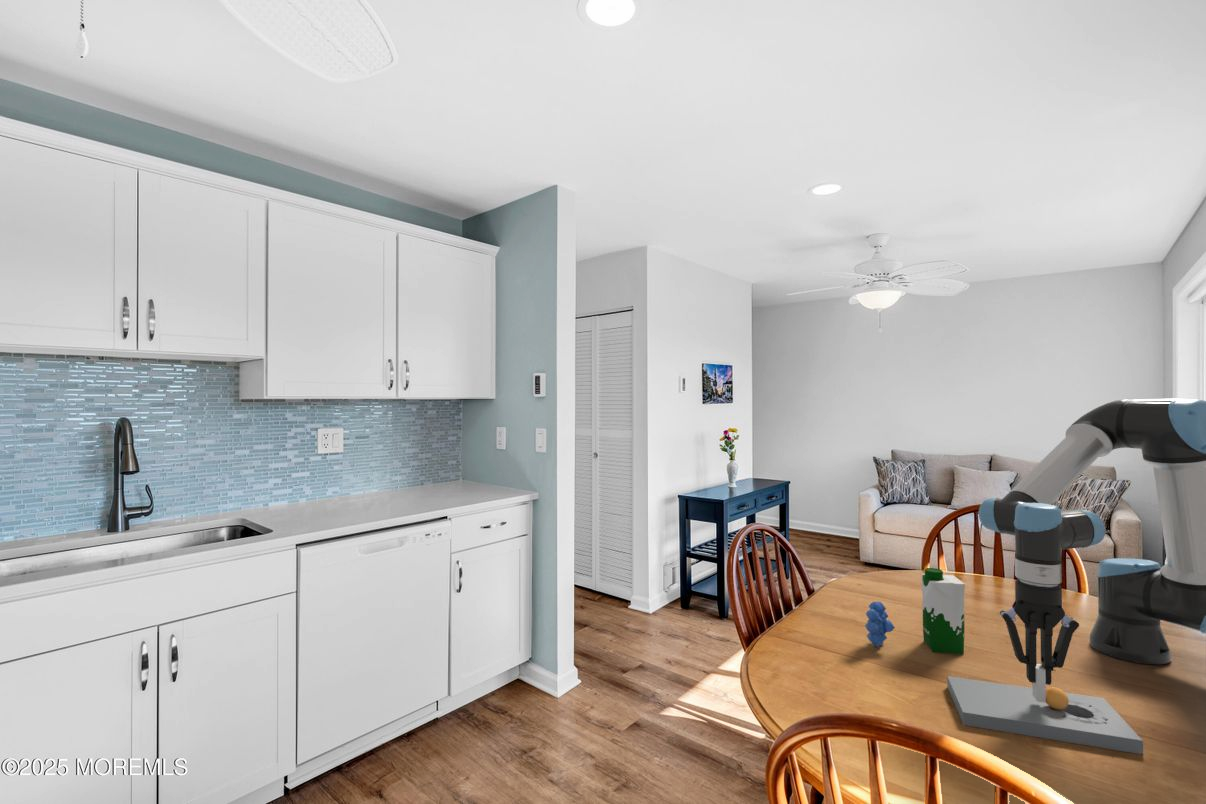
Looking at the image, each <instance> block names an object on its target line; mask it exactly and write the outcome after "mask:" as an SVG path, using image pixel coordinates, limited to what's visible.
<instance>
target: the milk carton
mask: <svg viewBox="0 0 1206 804" xmlns="http://www.w3.org/2000/svg"><path fill="white" fill-rule="evenodd" d="M943 572H944V571H943V570H942V569H939V568H933V567H927V568H924V573H921V575H920V576H921V577H920V578H921V588H922V589H921V591H922V592H921V593H922V634H923V635H922V637H923V642H924V643H925V645H926V646H927V648H929V649H930V651H931V652H932V653H937V654H952V655H963V656H964V654H965V590H966V589H965V588H966V583H965V582H963V581H961V580H960V579H959V578H957V576H955V575H953V574H951V575H950V574H944V573H943Z"/></svg>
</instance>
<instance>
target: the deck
mask: <svg viewBox="0 0 1206 804" xmlns="http://www.w3.org/2000/svg"><path fill="white" fill-rule="evenodd" d="M946 678H947V679H946V680H947V685H946V686H947V690H948V693H949V694H950V697H951V700H952V701H953V704H954V706H955V708H956V710H957V711H956V712H957V714H958V716H959V718H960V720H961V723H962V725H963V726H969V727H973V728H974V727H975V728H980V729H985V730H986V729H987V730H992V731H998V732H1004V733H1009V734H1010V733H1011V734H1017V735H1023V736H1028V737H1035V738H1041V739H1048V740H1054V741H1058V742H1059V741H1060V742H1064V743H1072V744H1078V745H1083V746H1090V747H1095V748H1102V749H1108V750H1114V751H1120V752H1125V753H1132V754H1138V755H1144V740H1143V739H1142V738H1141V737H1140V736H1139V735H1138V733H1137V732H1136V731H1135V730H1134V729H1133V728H1132V727H1131V726H1130V725H1129V723H1127V721H1125V720H1124V718H1122V716H1121V715H1120V714H1119V713H1118V712H1117V711H1116V710H1115V709H1114V708H1113V706H1112V705H1110V703H1109V702H1108V701H1107V700H1106V699H1105V698H1104V697H1099V696H1091V695H1085V694H1078V693H1072V692H1071V693H1070V692H1065V694H1066V695H1067V697H1068V700H1069V703H1068V706H1067V707H1066V708H1064V709H1060V710H1059V709H1054V708H1052V707H1050V706H1049V705H1048V704H1047V703H1045V702H1038V701H1036V699H1035V698H1034V696H1033V695H1032V687H1029V686H1022V685H1014V684H1006V683H1000V682H992V681H986V680H985V681H984V680H977V679H970V678H964V677H958V676H950V675H947V677H946Z"/></svg>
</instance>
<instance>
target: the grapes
mask: <svg viewBox="0 0 1206 804" xmlns="http://www.w3.org/2000/svg"><path fill="white" fill-rule="evenodd" d="M868 608H869V610H868V611H866V613H865V615H866V618H868V620H867V622H866V623H865V625H864V626H865V629H866V630H867V632H868V634H867V633H866V637H867V640H869V642H870V643H871V644H872V645H873V647H876V648H879V647H880V646H882V645H883V644H884V641H886V640H887V638H888V637H887V635H886V633H891V632H893V630H895V628H896V627H895V625H894V624H893V623H892V621H890V620H889V619H888V618H889V615H888V613H887V612H886V609H887V608H886V606H885V605H884V603H882V602H881V601H872V602H871V603H870V604H869V605H868Z"/></svg>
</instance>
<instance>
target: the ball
mask: <svg viewBox="0 0 1206 804" xmlns="http://www.w3.org/2000/svg"><path fill="white" fill-rule="evenodd" d="M1065 693H1066V692H1065V691H1063V690H1062V689H1060V688H1059V687H1056V686H1050V687H1049V686H1048V687H1047V688H1046V703H1047V704H1048V705H1049V706H1050V707H1052V708H1054V709H1059V710H1060V709H1064V708H1066V707H1067V706H1068V703H1069V700H1068V697H1067V695H1066V694H1065Z"/></svg>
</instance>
